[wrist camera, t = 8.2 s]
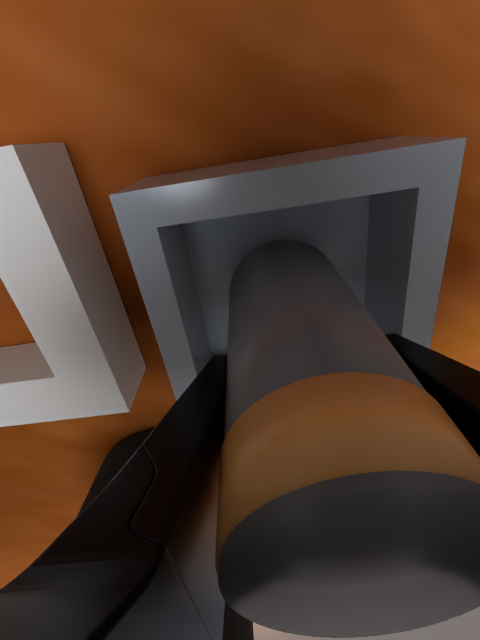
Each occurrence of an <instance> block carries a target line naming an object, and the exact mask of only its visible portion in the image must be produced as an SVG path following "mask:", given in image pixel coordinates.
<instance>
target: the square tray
mask: <svg viewBox="0 0 480 640" xmlns="http://www.w3.org/2000/svg"><path fill="white" fill-rule="evenodd" d="M466 140H467V137H428V136H394V137H387V138H381V139H375V140H369V141H363V142H357V143H351V144H345V145H339V146H333V147H326V148H320V149H314V150H308V151H302V152H296V153H290V154H284V155H278V156H271V157H265V158H259V159H253V160H247V161H241V162H235V163H229V164H223V165H217V166H210V167H204V168H198V169H192V170H186V171H180V172H174V173H168V174H162V175H156V176H149V177H145V178H143V179H141V180H139V181H137V182H135V183H132V184H130V185H128V186H126V187H124V188H122V189H120V190H118V191H116V192H114V193H112V194H110V195H109V197H110V200H111V203H112V206H113V209H114V212H115V216H116V219H117V222H118V225H119V228H120V231H121V234H122V237H123V240H124V243H125V246H126V249H127V252H128V255H129V258H130V261H131V264H132V267H133V270H134V273H135V276H136V279H137V282H138V285H139V288H140V292H141V295H142V298H143V301H144V304H145V307H146V310H147V313H148V316H149V319H150V322H151V325H152V328H153V331H154V334H155V337H156V340H157V343H158V346H159V349H160V352H161V355H162V358H163V361H164V364H165V368H166V371H167V374H168V377H169V380H170V383H171V386H172V389H173V392H174V395H175V398H176V401H177V400H178V399H179V397H180V396H181V395H182V394H183V392H184V391H185V390H186V389H187V387H188V386H189V385H190V384H191V383H192V381H193V380H194V379H195V378H196V376H197V375H198V374H199V373H200V371H201V370H202V369H203V368H204V366H205V365H206V364H207V363H208V361H209V360H210V359H211V358H212V357H213V356H216V355H224V354H227V343H228V318H229V293H230V283H231V279H232V276H233V273H234V271H235V269H236V267H237V266H238V264H239V263H240V262H241V260H242V259H243V258H244V257H245V256H246V255H247V254H248V253H250V252H251V251H252V250H254V249H255V248H257V247H259V246H261V245H263V244H265V243H268V242H271V241H276V240H284V239H289V240H298V241H302V242H305V243H308V244H310V245H312V246H315V247H316V248H317V249H319V250H320V251H321V252H323V253H324V254H325V255H326V257H327V258H328V259H329V260H330V262H331V263H332V264H333V266H334V267H335V268H336V270H337V271H338V272H339V274H340V275H341V276H342V278H343V279H344V281H345V282H346V283H347V285H348V286H349V287H350V289H351V290H352V291H353V293H354V294H355V295H356V297H357V298H358V299H359V301H360V302H361V304H362V305H363V306H364V308H365V309H366V310H367V312H368V313H369V314H370V316H371V317H372V318H373V320H374V321H375V322H376V324H377V325H378V327H379V328H380V329H381V331H382V332H383V333H384V334H390V333H396V334H398V335H400V336H402V337H405V338H407V339H409V340H411V341H413V342H416V343H418V344H420V345H422V346H424V347H427V348H429V349H430V345H431V339H432V334H433V328H434V322H435V317H436V311H437V305H438V300H439V294H440V288H441V282H442V277H443V271H444V265H445V260H446V254H447V248H448V242H449V237H450V231H451V225H452V220H453V214H454V208H455V203H456V197H457V191H458V185H459V180H460V174H461V168H462V163H463V157H464V151H465V146H466Z"/></svg>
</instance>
